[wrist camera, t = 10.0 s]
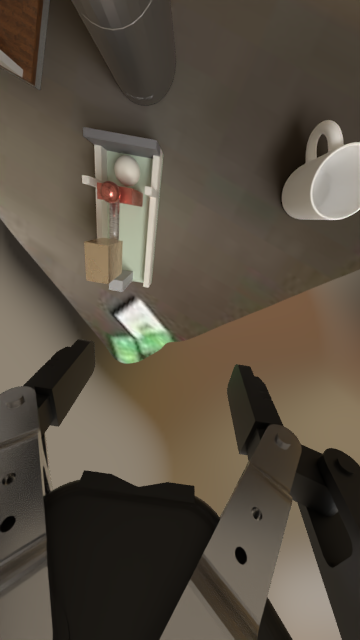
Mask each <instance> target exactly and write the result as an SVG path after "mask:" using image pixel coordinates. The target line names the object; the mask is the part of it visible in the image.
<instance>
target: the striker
mask: <svg viewBox="0 0 360 640" xmlns="http://www.w3.org/2000/svg"><path fill="white" fill-rule="evenodd" d="M97 199H101V200H105V201H106V202H108V203H109V224H110V239H109V238H99V239H94V240H90V241H85V242H84V246H85V264H86V280H87V281H93V282H99V283H105V284H109V283H110V282H112V281H113V280H114V279H115V278H117V277H118V276H119V275H120V274H121V273H122V245H123V241H121V240H119V213H120V203H122V204H128V205H134V206H140V207H142V205H143V193H141V192H139V191H137V190H135V189H132V188H127V187H121V186H118V185H117V184H116V183H114V182H112V181H105V182H104V183H98V182H97Z"/></svg>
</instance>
